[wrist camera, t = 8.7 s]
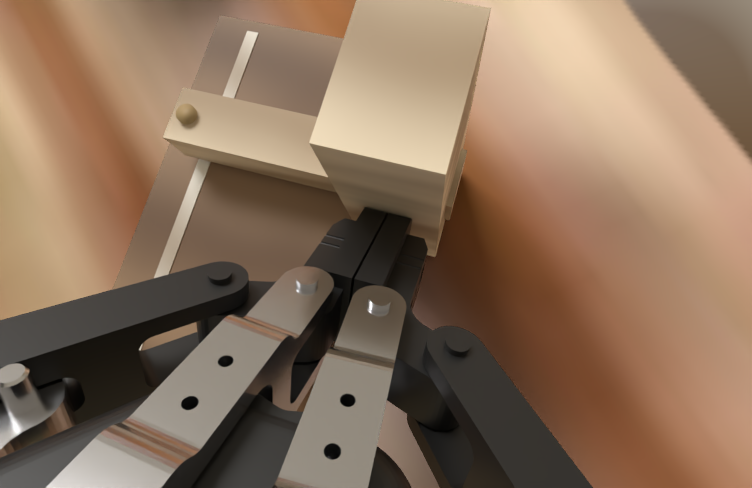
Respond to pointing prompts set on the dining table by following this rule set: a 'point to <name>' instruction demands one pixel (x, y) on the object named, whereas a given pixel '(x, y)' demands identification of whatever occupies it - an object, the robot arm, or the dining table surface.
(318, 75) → the board
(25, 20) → the dining table surface
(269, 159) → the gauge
